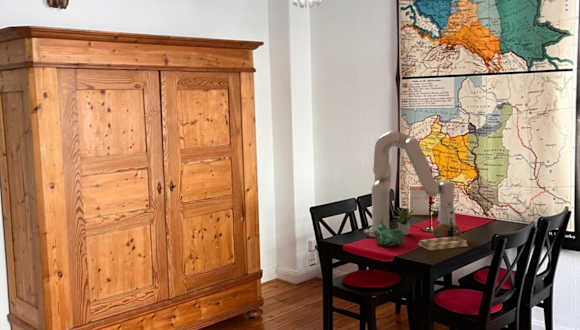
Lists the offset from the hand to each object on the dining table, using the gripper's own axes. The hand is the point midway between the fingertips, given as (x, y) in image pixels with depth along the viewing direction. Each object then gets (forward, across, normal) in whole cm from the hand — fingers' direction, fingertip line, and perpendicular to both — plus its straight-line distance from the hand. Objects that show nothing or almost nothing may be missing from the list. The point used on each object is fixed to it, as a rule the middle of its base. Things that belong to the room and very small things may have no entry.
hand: (445, 235), depth 329 cm
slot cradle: (+2, -11, +9) cm, 14 cm away
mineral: (+2, +1, +35) cm, 35 cm away
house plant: (+2, +17, +16) cm, 23 cm away
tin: (+2, 0, 0) cm, 2 cm away
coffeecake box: (+2, +60, -20) cm, 64 cm away
